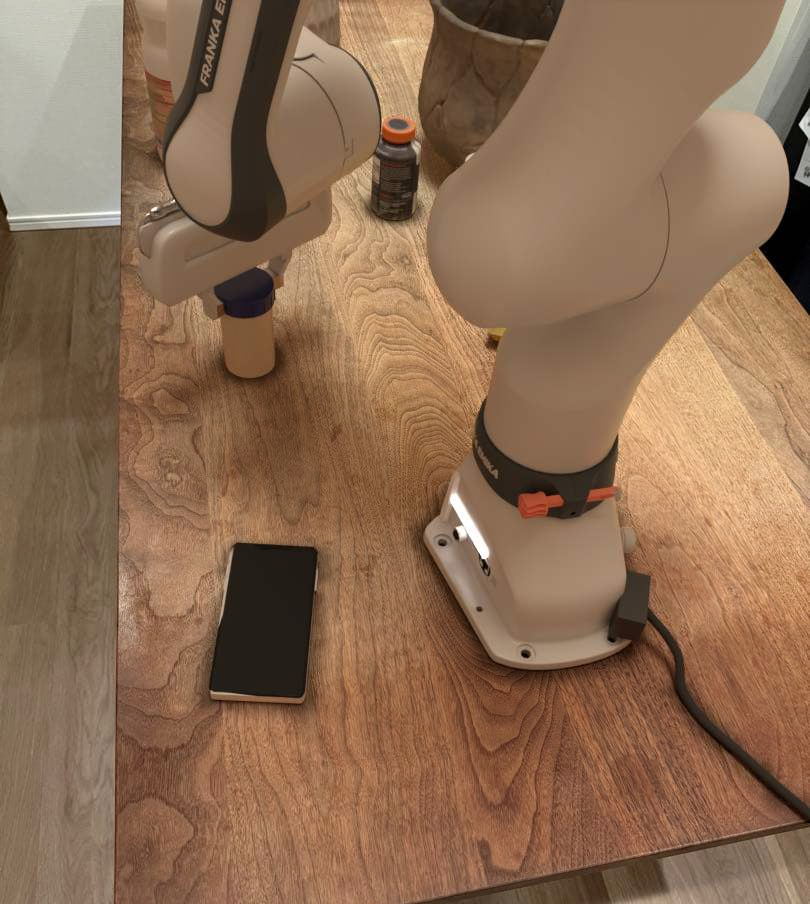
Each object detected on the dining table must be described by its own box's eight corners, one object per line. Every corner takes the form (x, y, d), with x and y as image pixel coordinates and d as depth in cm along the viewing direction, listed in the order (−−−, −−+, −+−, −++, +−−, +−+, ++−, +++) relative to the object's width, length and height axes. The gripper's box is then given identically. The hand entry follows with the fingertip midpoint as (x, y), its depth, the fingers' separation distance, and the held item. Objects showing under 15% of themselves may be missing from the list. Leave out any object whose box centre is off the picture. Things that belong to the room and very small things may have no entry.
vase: (355, 145, 122) (363, -91, 100) (275, 168, 117) (264, -75, 95) (309, 103, 128) (306, -129, 105) (230, 123, 123) (210, -116, 100)
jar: (279, 375, 94) (275, 302, 86) (228, 380, 93) (219, 307, 85) (271, 341, 97) (267, 268, 89) (222, 346, 96) (213, 273, 88)
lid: (279, 316, 87) (278, 300, 86) (217, 321, 86) (216, 306, 84) (270, 278, 91) (269, 262, 89) (211, 283, 89) (209, 267, 88)
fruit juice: (167, 134, 120) (131, -108, 98) (235, 141, 120) (215, -99, 98) (150, 171, 115) (109, -77, 92) (222, 179, 115) (198, -66, 92)
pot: (456, 100, 132) (476, -62, 115) (603, 147, 127) (647, -15, 110) (381, 178, 118) (391, 6, 101) (543, 235, 113) (583, 64, 96)
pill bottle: (424, 206, 115) (433, 122, 106) (400, 227, 111) (407, 142, 102) (386, 189, 116) (391, 105, 107) (361, 210, 113) (364, 124, 104)
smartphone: (205, 693, 70) (230, 541, 79) (207, 700, 71) (231, 549, 80) (306, 698, 70) (320, 546, 79) (306, 704, 71) (320, 554, 80)
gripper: (154, 233, 71) (176, 361, 82) (343, 152, 81) (340, 277, 92) (111, 197, 74) (138, 326, 85) (299, 123, 83) (302, 248, 94)
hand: (245, 300), depth 88 cm, fingers closed on lid, 6 cm apart
